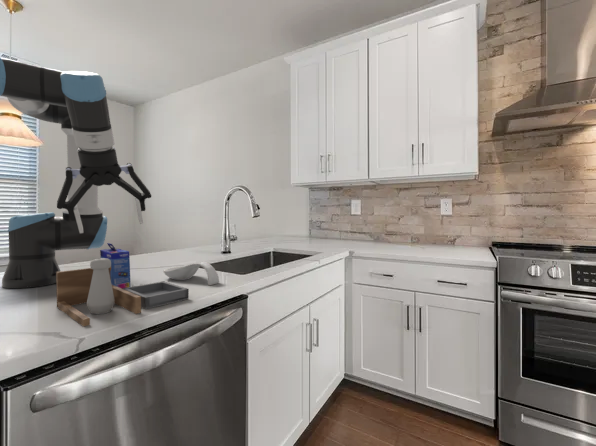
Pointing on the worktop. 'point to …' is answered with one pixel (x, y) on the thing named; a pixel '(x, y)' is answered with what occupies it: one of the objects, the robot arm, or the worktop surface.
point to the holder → (76, 291)
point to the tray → (159, 293)
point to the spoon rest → (192, 272)
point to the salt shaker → (100, 287)
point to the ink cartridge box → (118, 266)
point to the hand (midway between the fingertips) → (112, 225)
